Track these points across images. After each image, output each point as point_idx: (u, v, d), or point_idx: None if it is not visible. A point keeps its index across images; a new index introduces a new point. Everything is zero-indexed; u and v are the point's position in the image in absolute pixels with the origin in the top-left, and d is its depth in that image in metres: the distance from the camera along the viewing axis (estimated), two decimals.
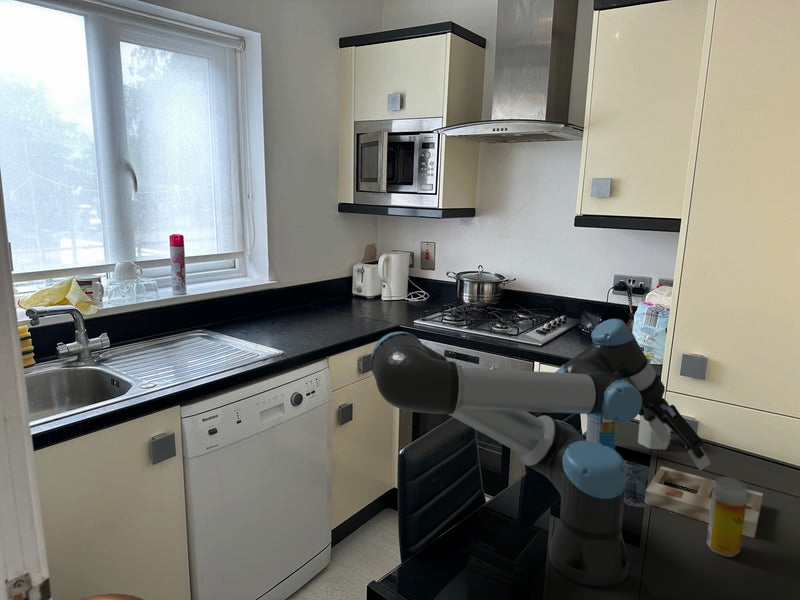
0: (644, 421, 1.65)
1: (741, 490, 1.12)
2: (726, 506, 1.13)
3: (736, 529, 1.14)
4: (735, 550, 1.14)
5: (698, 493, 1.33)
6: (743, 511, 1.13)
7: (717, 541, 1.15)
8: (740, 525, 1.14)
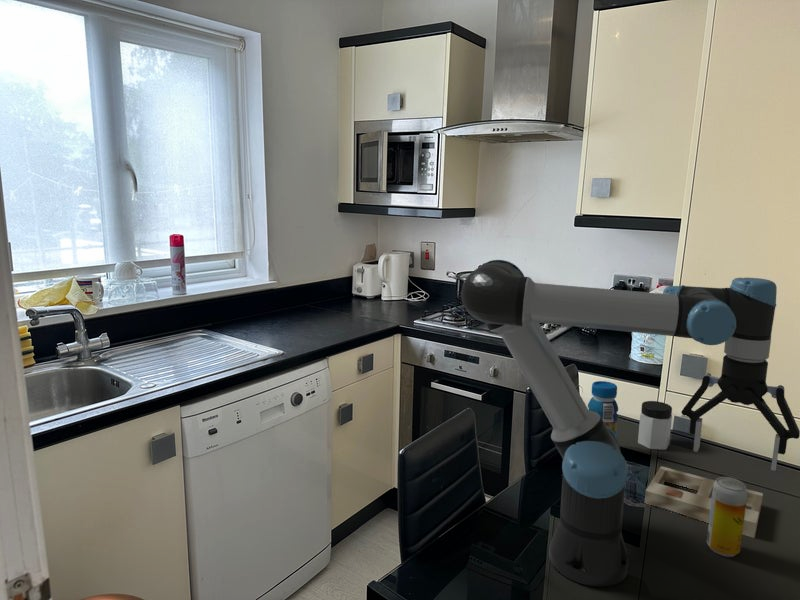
0: (644, 421, 1.65)
1: (741, 490, 1.12)
2: (726, 506, 1.13)
3: (736, 529, 1.14)
4: (735, 550, 1.14)
5: (698, 493, 1.33)
6: (743, 511, 1.13)
7: (717, 541, 1.15)
8: (740, 525, 1.14)
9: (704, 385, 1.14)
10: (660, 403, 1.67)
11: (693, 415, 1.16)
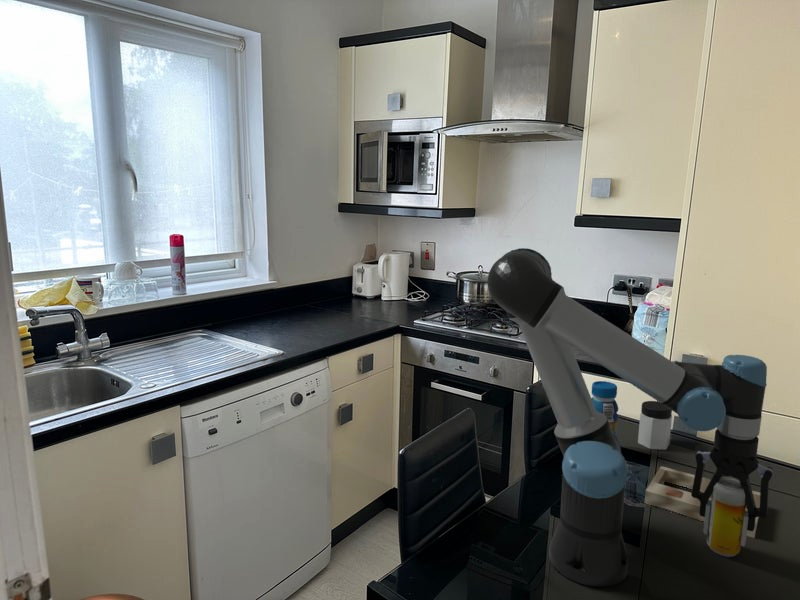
0: (644, 421, 1.65)
1: (741, 490, 1.12)
2: (726, 506, 1.13)
3: (736, 529, 1.14)
4: (735, 550, 1.14)
5: None
6: (743, 511, 1.13)
7: (717, 541, 1.15)
8: (740, 525, 1.14)
9: (699, 463, 1.17)
10: (660, 403, 1.67)
11: (702, 498, 1.18)
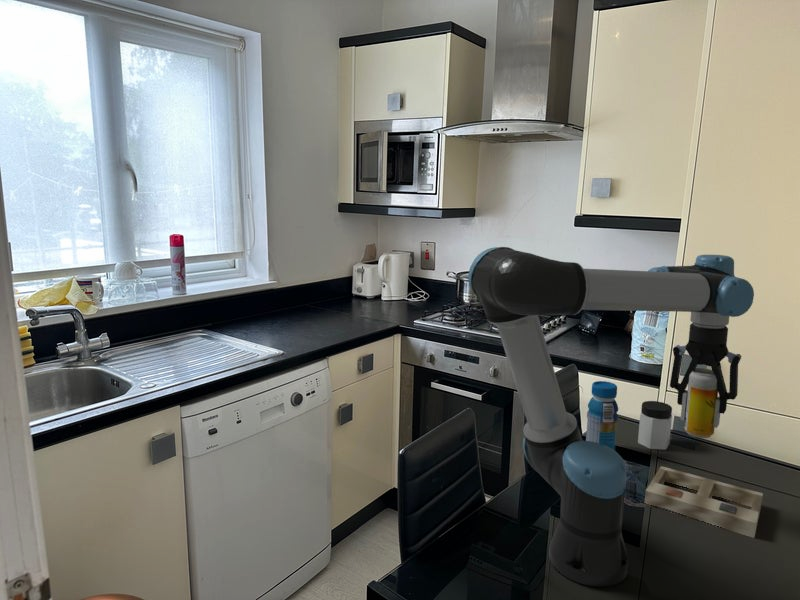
0: (644, 421, 1.65)
1: (713, 376, 1.25)
2: (700, 391, 1.26)
3: (709, 411, 1.26)
4: (708, 431, 1.27)
5: (698, 493, 1.33)
6: (715, 395, 1.26)
7: (693, 424, 1.28)
8: (713, 408, 1.26)
9: (676, 355, 1.30)
10: (660, 403, 1.67)
11: (679, 388, 1.30)
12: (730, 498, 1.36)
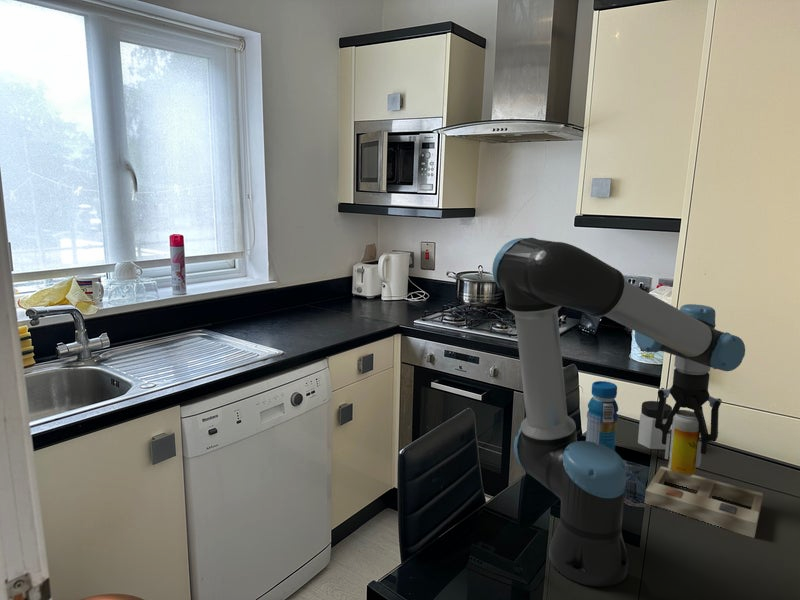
0: (644, 421, 1.65)
1: (695, 418, 1.33)
2: (683, 432, 1.33)
3: (691, 452, 1.34)
4: (690, 470, 1.35)
5: (698, 493, 1.33)
6: (697, 437, 1.34)
7: (676, 464, 1.36)
8: (695, 449, 1.34)
9: (661, 398, 1.37)
10: None
11: (663, 428, 1.38)
12: (730, 498, 1.36)
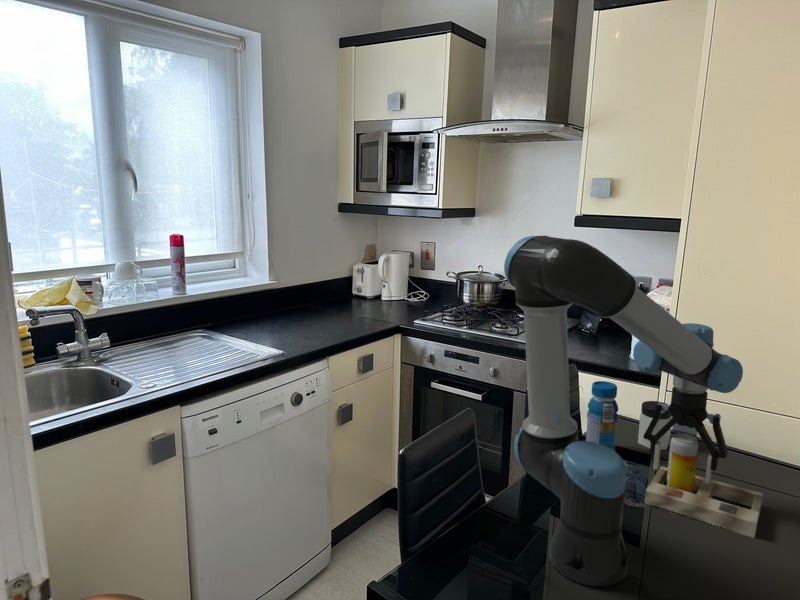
0: (644, 421, 1.65)
1: (693, 443, 1.34)
2: (681, 457, 1.35)
3: (689, 476, 1.35)
4: None
5: (698, 493, 1.33)
6: (695, 461, 1.35)
7: (674, 487, 1.37)
8: (692, 473, 1.35)
9: (658, 412, 1.38)
10: None
11: (652, 439, 1.40)
12: (730, 498, 1.36)
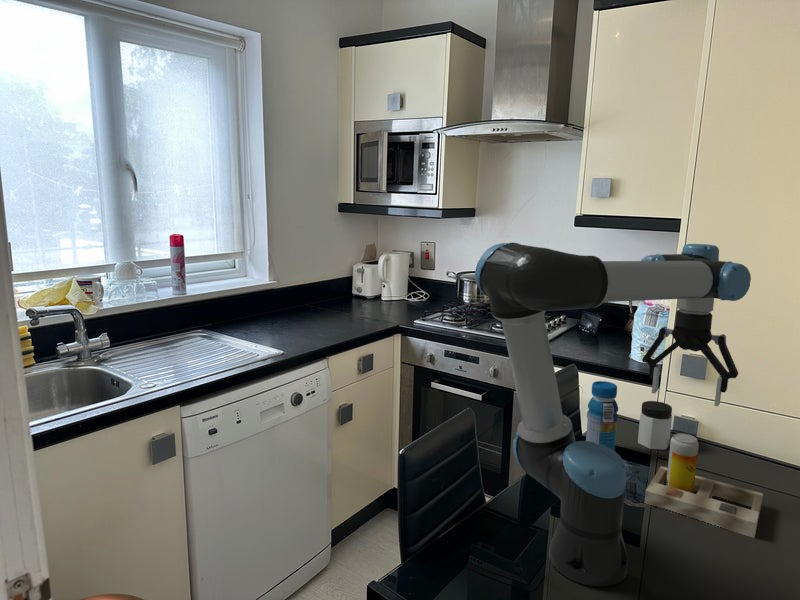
0: (644, 421, 1.65)
1: (693, 443, 1.34)
2: (681, 457, 1.35)
3: (689, 476, 1.35)
4: None
5: (698, 493, 1.33)
6: (695, 461, 1.35)
7: (674, 487, 1.37)
8: (693, 473, 1.35)
9: (660, 336, 1.35)
10: (660, 403, 1.67)
11: (651, 362, 1.37)
12: (730, 498, 1.36)
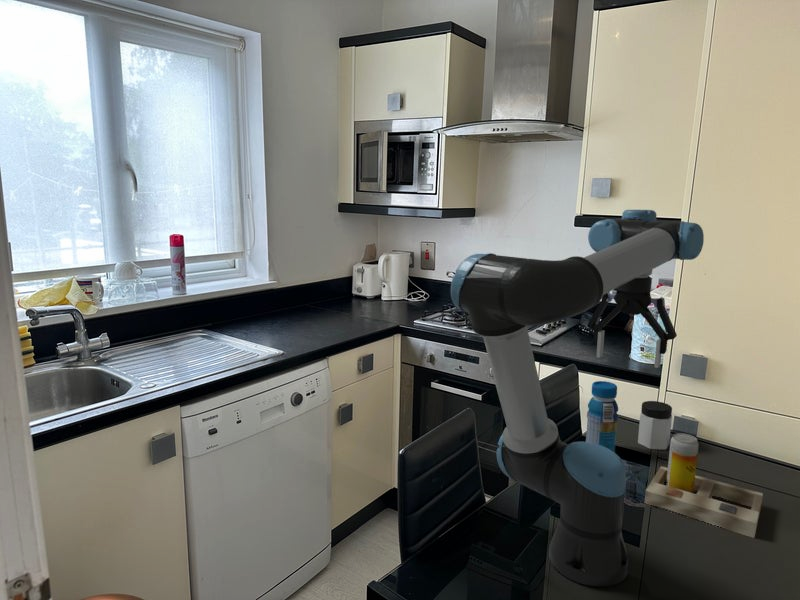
0: (644, 421, 1.65)
1: (693, 443, 1.34)
2: (681, 456, 1.35)
3: (689, 476, 1.35)
4: None
5: (698, 493, 1.33)
6: (695, 461, 1.35)
7: (674, 487, 1.37)
8: (692, 473, 1.35)
9: (603, 301, 1.38)
10: (660, 403, 1.67)
11: (596, 327, 1.40)
12: (730, 498, 1.36)
